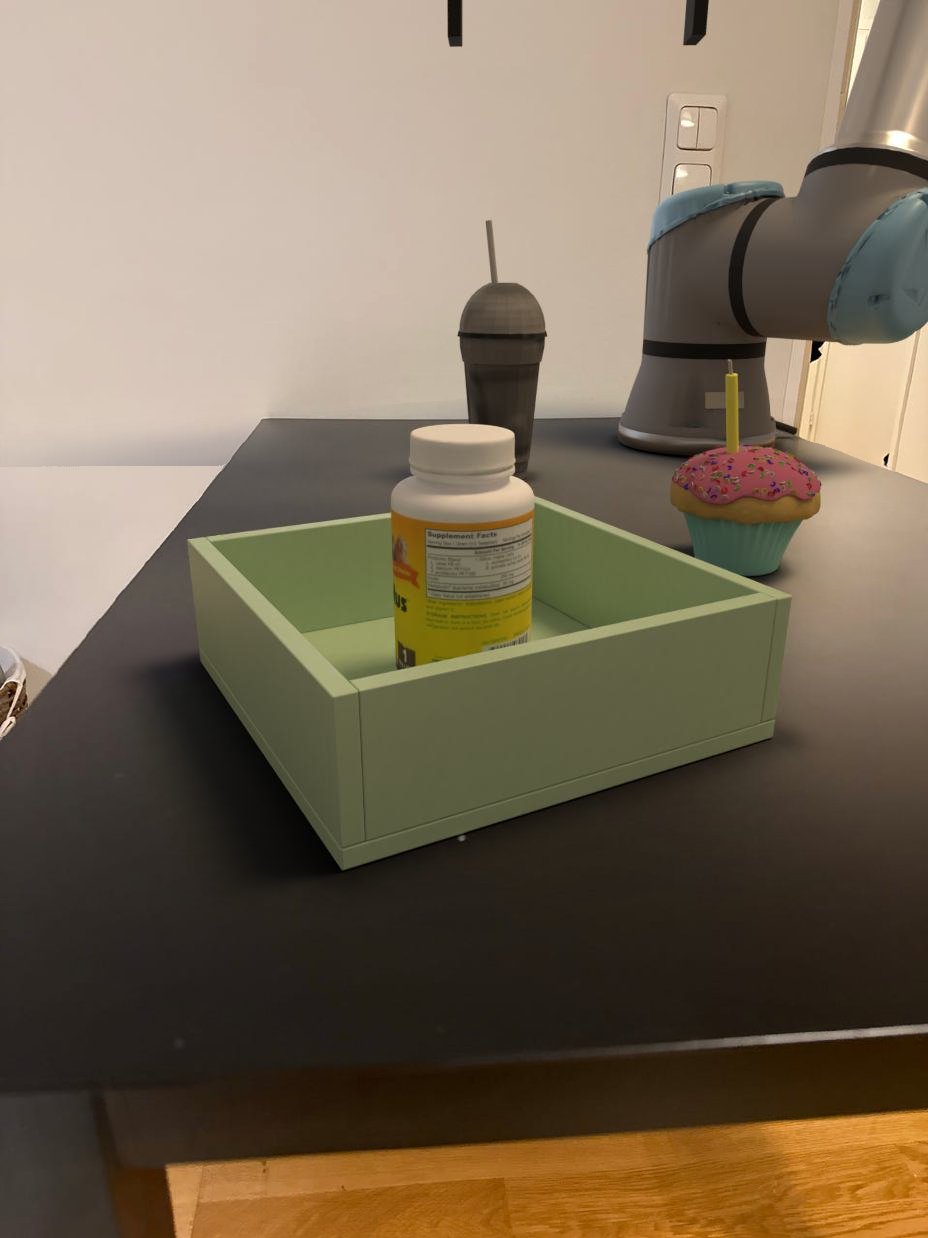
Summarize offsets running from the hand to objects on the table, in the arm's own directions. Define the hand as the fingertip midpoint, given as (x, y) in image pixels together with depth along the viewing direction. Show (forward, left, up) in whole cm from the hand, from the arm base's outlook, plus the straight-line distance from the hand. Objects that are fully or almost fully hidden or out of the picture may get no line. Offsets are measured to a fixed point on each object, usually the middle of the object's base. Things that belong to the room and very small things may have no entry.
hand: (574, 41), depth 53 cm
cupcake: (-5, +12, -29) cm, 32 cm away
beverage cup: (-5, -16, -29) cm, 33 cm away
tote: (+18, +20, -29) cm, 39 cm away
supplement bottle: (+18, +20, -28) cm, 39 cm away
